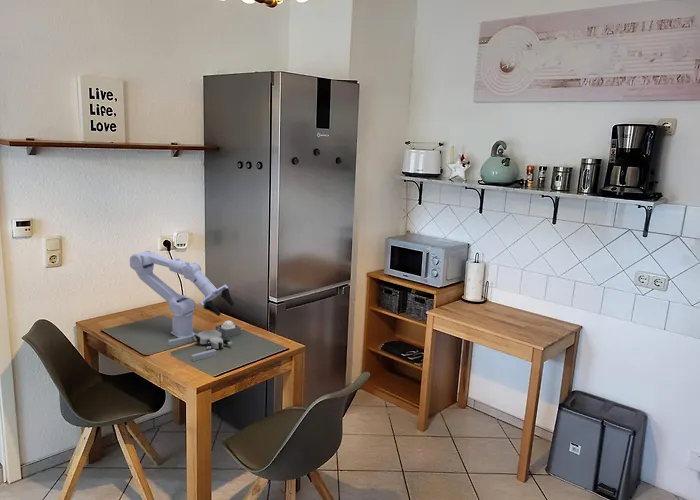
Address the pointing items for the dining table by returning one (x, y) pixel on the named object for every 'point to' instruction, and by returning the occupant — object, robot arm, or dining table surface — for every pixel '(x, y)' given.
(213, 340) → the robot toy
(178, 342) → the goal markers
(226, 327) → the dome button
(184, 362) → the dining table surface
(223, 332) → the dome collar
